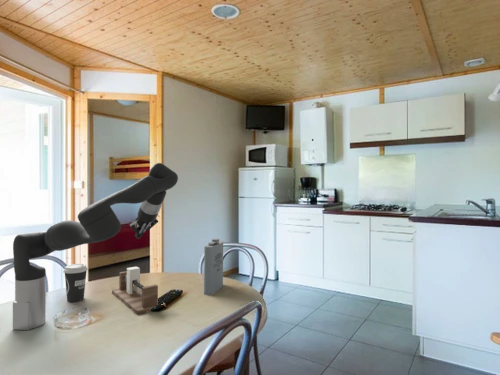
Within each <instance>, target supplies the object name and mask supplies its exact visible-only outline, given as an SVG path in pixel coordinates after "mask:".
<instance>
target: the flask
mask: <svg viewBox="0 0 500 375" xmlns="http://www.w3.org/2000/svg"><path fill="white" fill-rule="evenodd" d="M203 249H204V252H203V254H204V256H203V257H204V260H203V262H204V263H203V265H204V267H203V294H204V296H205V295H206V296H211V295H213V294H215V293H217V292H219V290H221V289H222V287H223V286H224V241H223V240H220V238H211V241H210V242H208V243H207V245H204V248H203ZM216 291H217V292H216Z"/></svg>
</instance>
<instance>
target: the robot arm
mask: <svg viewBox="0 0 500 375" xmlns="http://www.w3.org/2000/svg"><path fill="white" fill-rule="evenodd" d="M178 176H179V175H178V174H177V173H176V172H175V171H174V170H172V169H171V168H169V166H166V165H165V164H164V163H161V162H157V163H155V164H153V165H152V166H151V168H150V169H149V172H148V175H146V176H144V177H142V178H140V179H139V180H137V181H136V182H134V183H133V184H131V185H129V186H127V187H125V188H124V189H123V188H122V189H121V190H118V191H116V192H114V193H112V194H110V195H107V196H105V197H104V198H102V199H99V200H97V201H96V202H94V203H91V204H90V205H88V206H86V207H85V208H84V209H82V210H81V211H80V212H79V213H78V214H77V220H78V221H76V220H70V219H69V220H67V219H66V220H63V221H59V222H57V223H54V224H52V225H51V226H50V227H49V228H48V229H47V230H46V231H38V232H31V233H30V232H29V233H21V234H17V235H15V237H14V238H13V239H14V240H13V242H12V252H13V254H12V255H13V271H14V292H15V293H14V301H13V302H12V330H17V331H19V330H20V331H23V330H24V331H30V330H32V329H35V328H39V327H41V326H43V325H44V324H45V323H46V303H47V302H46V296H47V295H46V291H47V290H46V289H47V288H46V286H47V285H46V283H47V282H46V280H47V277H46V276H47V275H46V273H47V271H46V268H45V267H44V266H40V265H39V266H38V265H33V264H31V263H30V260H32V259H38V258H43V257H46V256H47V255H50V254H51V253H53V252H60V251H62V252H63V251H65V250H69V249H73V248H75V247H79V246H81V245H87V244H88V245H89V244H95V243H99V242H104V241H106V240H109V239H111V238H113V237H115V236H116V235H117V234H118V233H119V232H120V231H121V229H122V224H121V221H120V219H119V218H118V216H117V214H116V213H115V212H114V210H113V208H112V207H111V206H113V205H117V204H134V205H136V204H140V206H139V209H138V210H137V217H136V218H135V219H134V220H135V221H133V222H132V221H130V222H128V225H129V226H130V228H131V229H132V230H133V231H134V233H135V234H134V236H135V237H136V239H137V240H139V239H141V238H142V237H143V235H144V233H145V232H146V231H149V230H151V229H152V228H153V227H154V226H155V225H156V224H158V223H159V220H158V219H157V218H158V215H159V213H160V211H161V209H162V204H163V202H164V199H165V198H166V195H167V191H168V190H170V189H172V188H174V187H175V186H176V185H177V183H178V180H179V177H178Z"/></svg>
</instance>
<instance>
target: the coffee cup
mask: <svg viewBox="0 0 500 375" xmlns="http://www.w3.org/2000/svg"><path fill="white" fill-rule="evenodd" d="M88 271H89V269H88V266H87V264H85V263H72V264H67V265H66V266H65V268H64V269H63V273H64V279H65V281H64V282H65V291H66V301H67V302H68V303H77V302H81V301H84V299H85V290H86V279H87V272H88Z"/></svg>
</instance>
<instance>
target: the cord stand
mask: <svg viewBox="0 0 500 375" xmlns="http://www.w3.org/2000/svg"><path fill="white" fill-rule="evenodd" d="M118 274H119V275H118V276H119V280H118V282H119V283H118V285H119V286H118V288H115V289H111V293H112V294H113V296H115V297H116V298H117V299H118V300H119V301H120V302H121V303H123V304H124V305H125V306H126V307H127V308H128V309H130V310H131V311H132V312H134V313H135V314H136V315H141V314H146V313H149V312H152V311H151V309H152V308H153V307H156V306H155V305H158V299H159V285H157V284H151V285H146V286H144V285H143V284H141V282H140V283H138V282H137V281H135V280H133V281H132V294H128V293H127V270H126V271H120V272H119V273H118ZM134 285H136V286H137V287H139V288H140V292H139V293H137V292H135V291H134ZM161 305H164V306H165V307H166V303H165V302H163V304H161Z"/></svg>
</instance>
